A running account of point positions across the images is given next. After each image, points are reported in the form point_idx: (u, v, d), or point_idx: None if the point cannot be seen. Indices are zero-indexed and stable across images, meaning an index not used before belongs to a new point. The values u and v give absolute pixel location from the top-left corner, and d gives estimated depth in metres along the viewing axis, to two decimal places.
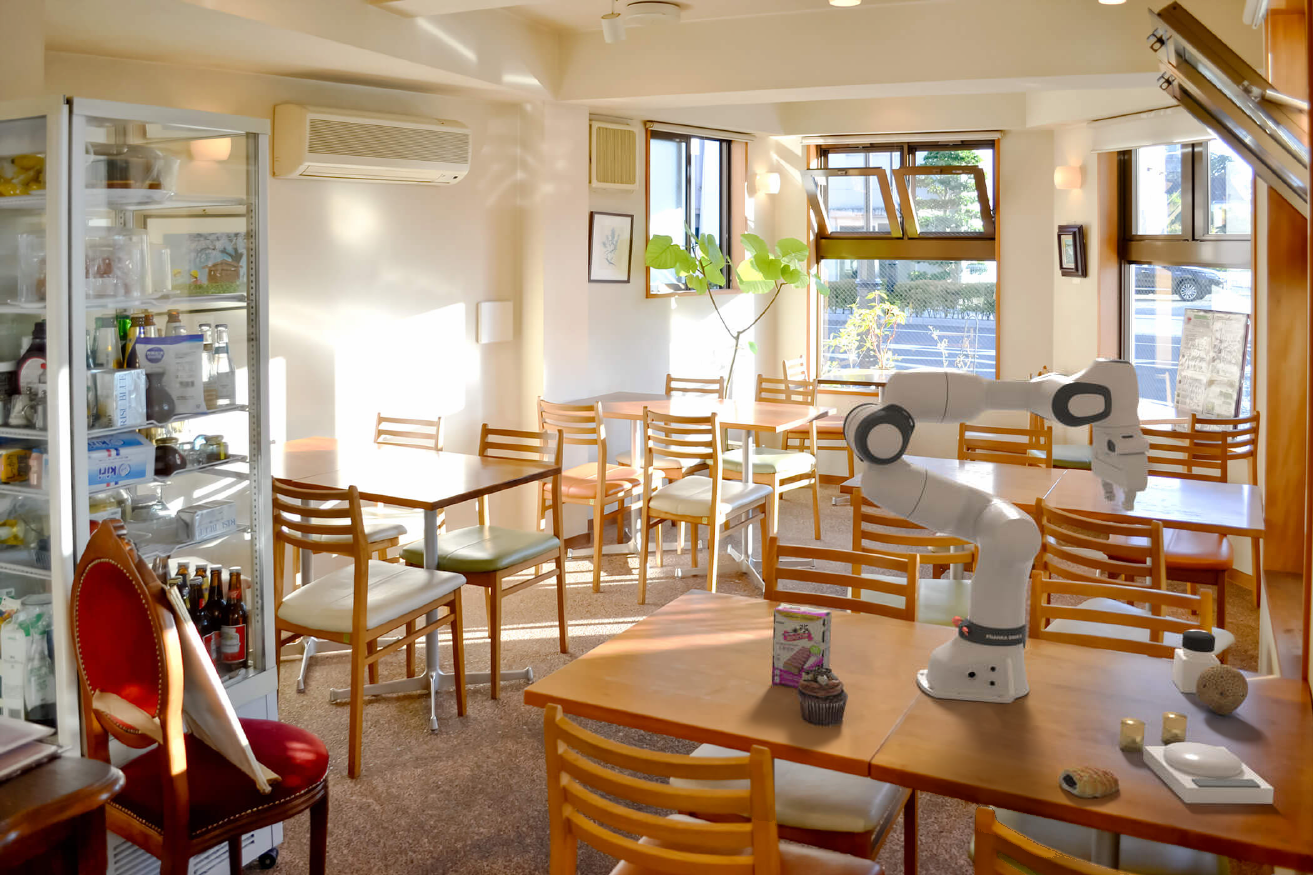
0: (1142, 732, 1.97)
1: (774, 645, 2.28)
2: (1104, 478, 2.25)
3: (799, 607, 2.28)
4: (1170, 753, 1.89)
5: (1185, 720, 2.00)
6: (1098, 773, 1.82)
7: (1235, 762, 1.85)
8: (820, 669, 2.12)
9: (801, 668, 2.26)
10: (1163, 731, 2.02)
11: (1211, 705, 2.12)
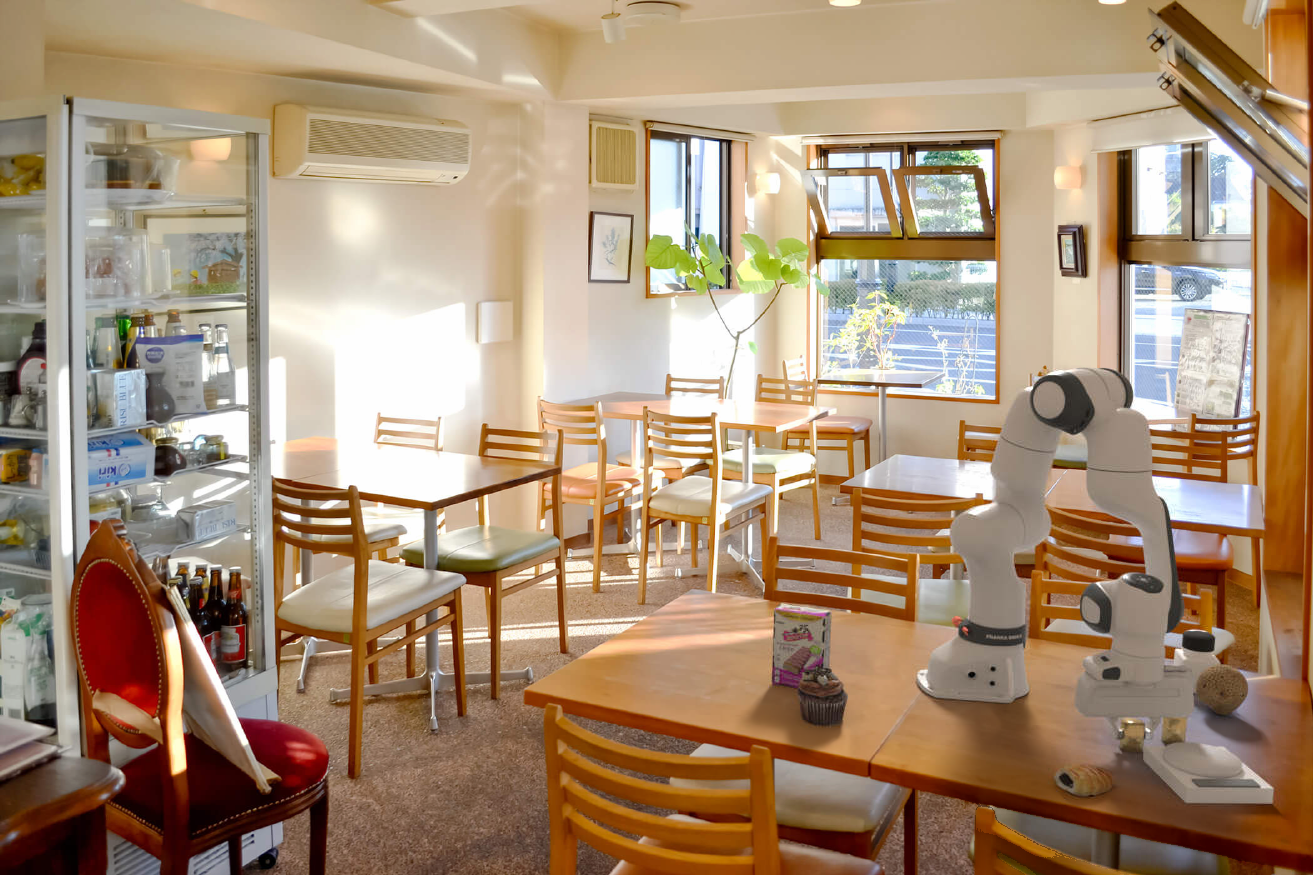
0: (1142, 732, 1.97)
1: (774, 645, 2.28)
2: None
3: (799, 607, 2.28)
4: (1170, 753, 1.89)
5: (1185, 720, 2.00)
6: (1094, 771, 1.83)
7: (1235, 762, 1.85)
8: (820, 669, 2.12)
9: (801, 668, 2.26)
10: (1163, 731, 2.02)
11: (1211, 705, 2.12)
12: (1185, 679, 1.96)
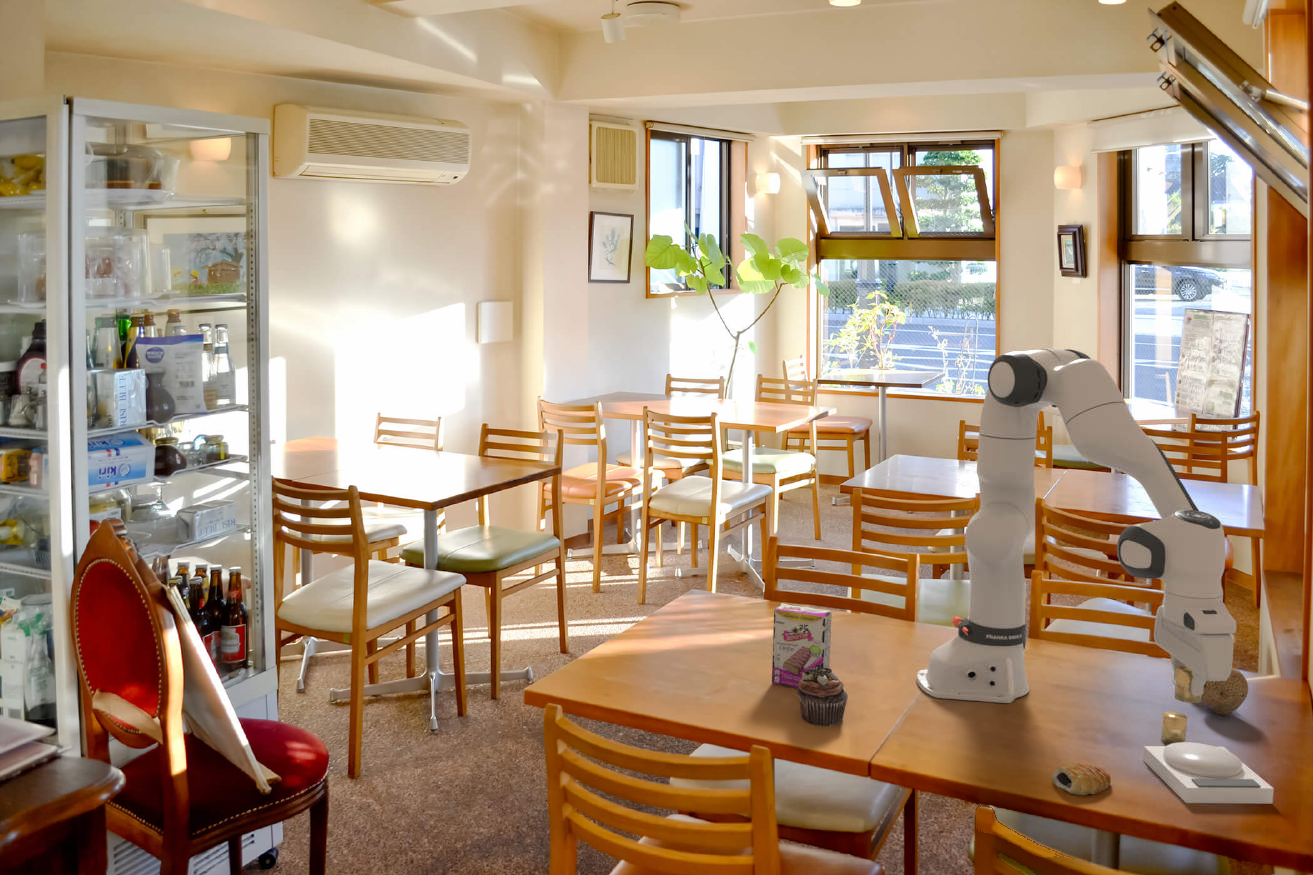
0: None
1: (774, 645, 2.28)
2: (1172, 653, 1.87)
3: (799, 607, 2.28)
4: (1170, 753, 1.89)
5: (1185, 720, 2.00)
6: (1091, 770, 1.83)
7: (1235, 762, 1.85)
8: (820, 669, 2.12)
9: (801, 668, 2.26)
10: (1163, 731, 2.02)
11: (1211, 705, 2.12)
12: None
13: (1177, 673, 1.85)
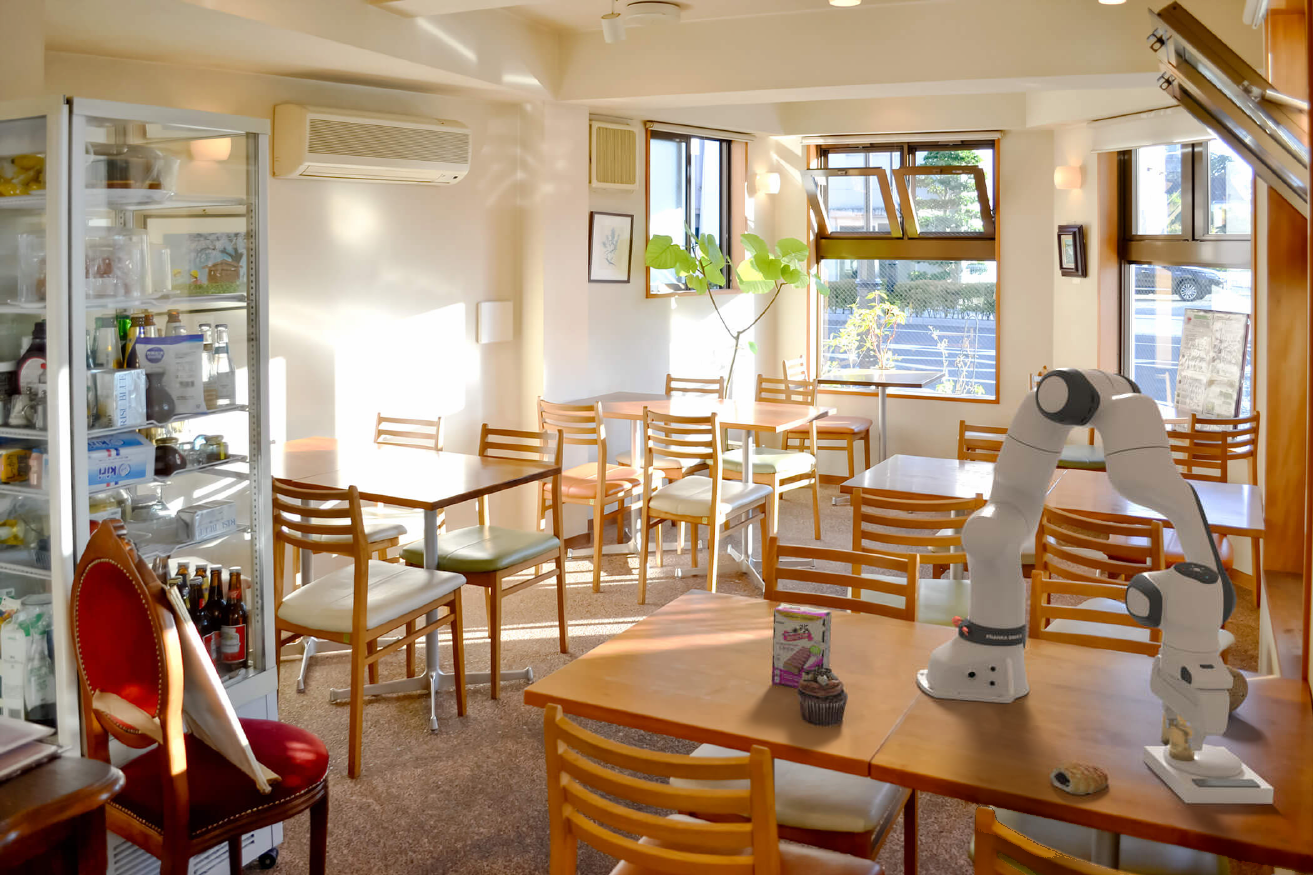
0: None
1: (774, 645, 2.28)
2: (1168, 703, 1.89)
3: (799, 607, 2.28)
4: None
5: None
6: (1089, 769, 1.84)
7: (1235, 762, 1.85)
8: (820, 669, 2.12)
9: (801, 668, 2.26)
10: (1163, 731, 2.02)
11: None
12: None
13: (1171, 731, 1.87)
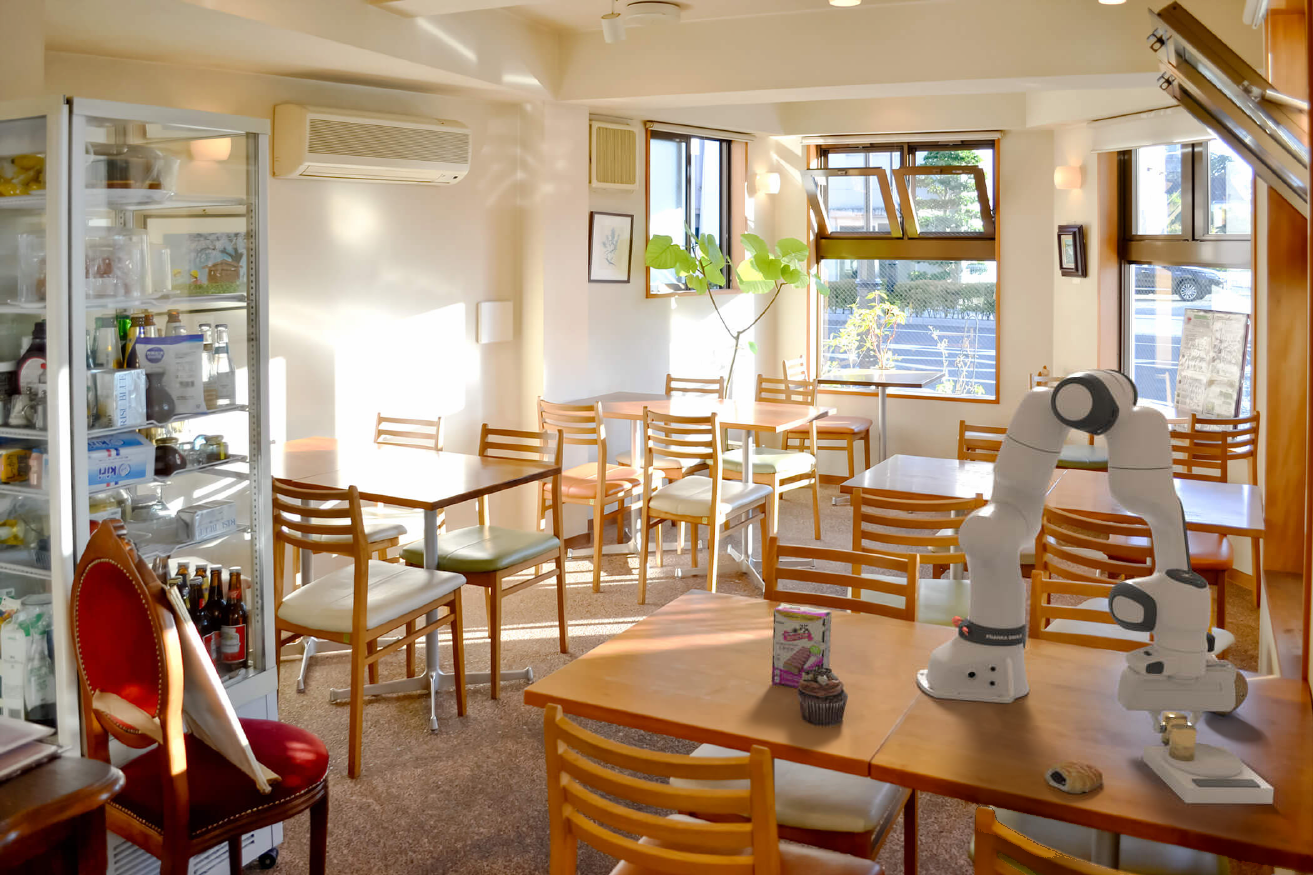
0: None
1: (774, 645, 2.28)
2: None
3: (799, 607, 2.28)
4: None
5: (1185, 720, 2.00)
6: (1084, 768, 1.84)
7: (1235, 762, 1.85)
8: (820, 669, 2.12)
9: (801, 668, 2.26)
10: None
11: None
12: (1227, 673, 1.99)
13: (1171, 731, 1.87)
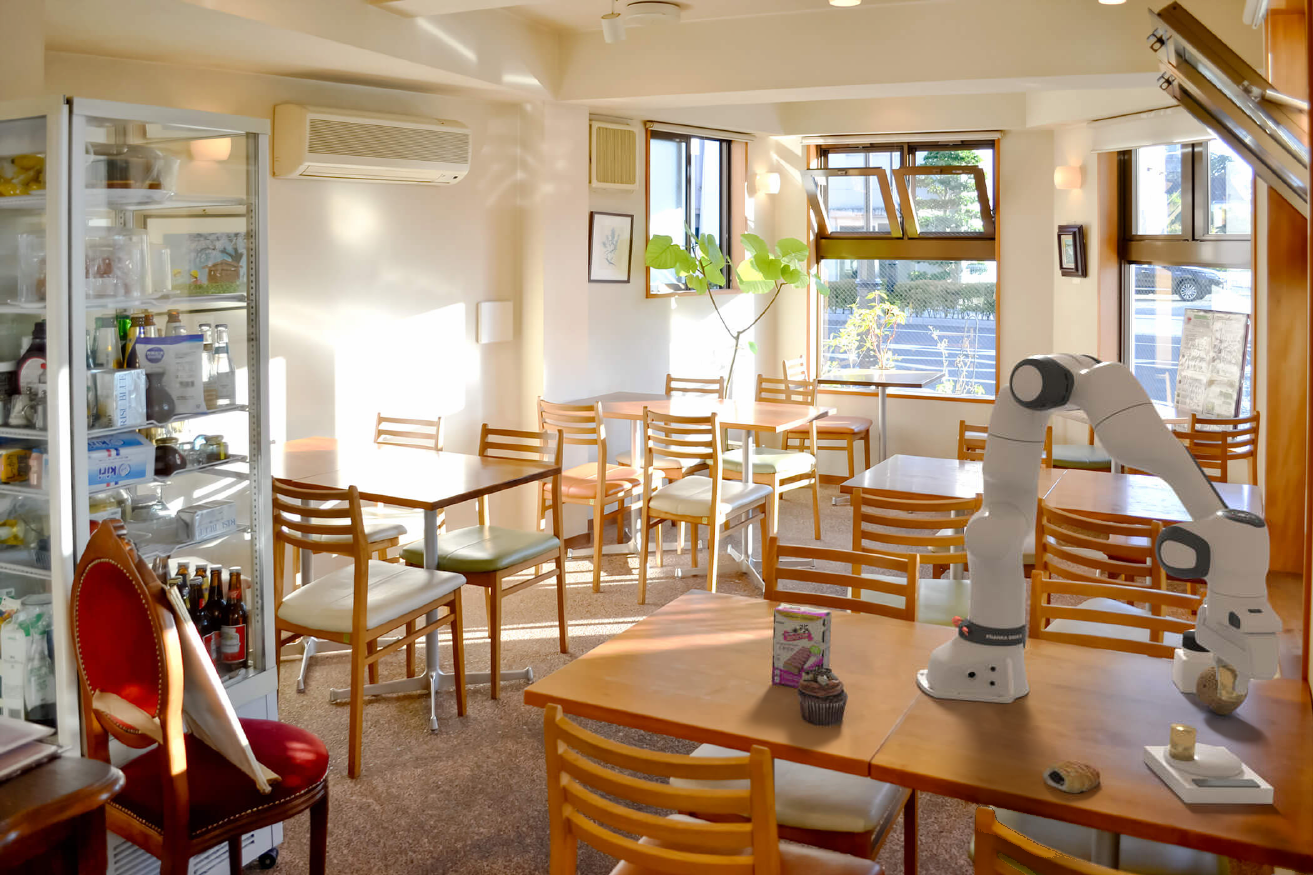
0: None
1: (774, 645, 2.28)
2: (1215, 652, 1.88)
3: (799, 607, 2.28)
4: None
5: None
6: (1082, 767, 1.84)
7: (1235, 762, 1.85)
8: (820, 669, 2.12)
9: (801, 668, 2.26)
10: None
11: (1211, 705, 2.12)
12: None
13: (1171, 731, 1.87)
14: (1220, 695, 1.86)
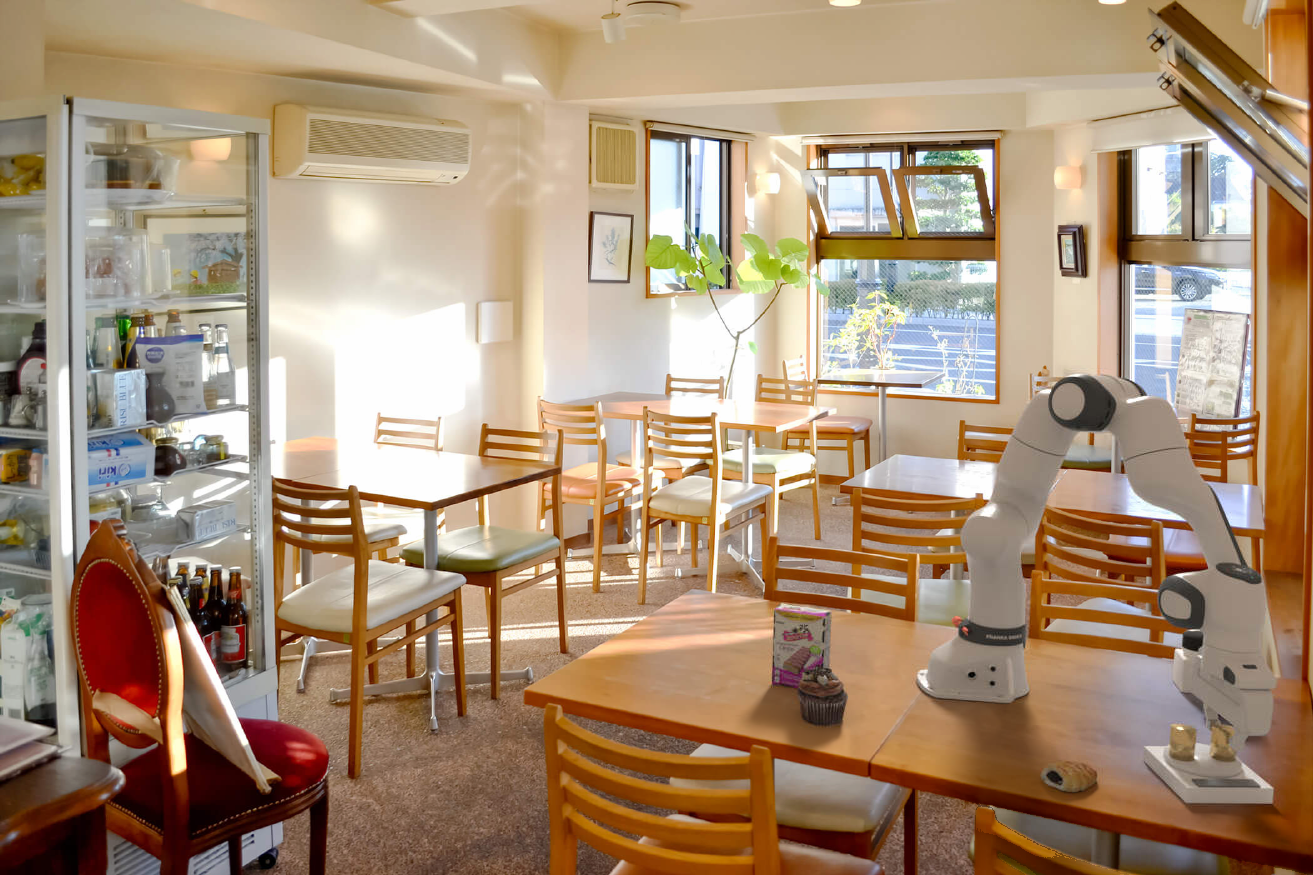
0: None
1: (774, 645, 2.28)
2: (1209, 703, 1.89)
3: (799, 607, 2.28)
4: None
5: None
6: (1079, 766, 1.85)
7: (1235, 762, 1.85)
8: (820, 669, 2.12)
9: (801, 668, 2.26)
10: (1230, 750, 1.85)
11: None
12: None
13: (1171, 731, 1.87)
14: (1212, 755, 1.87)
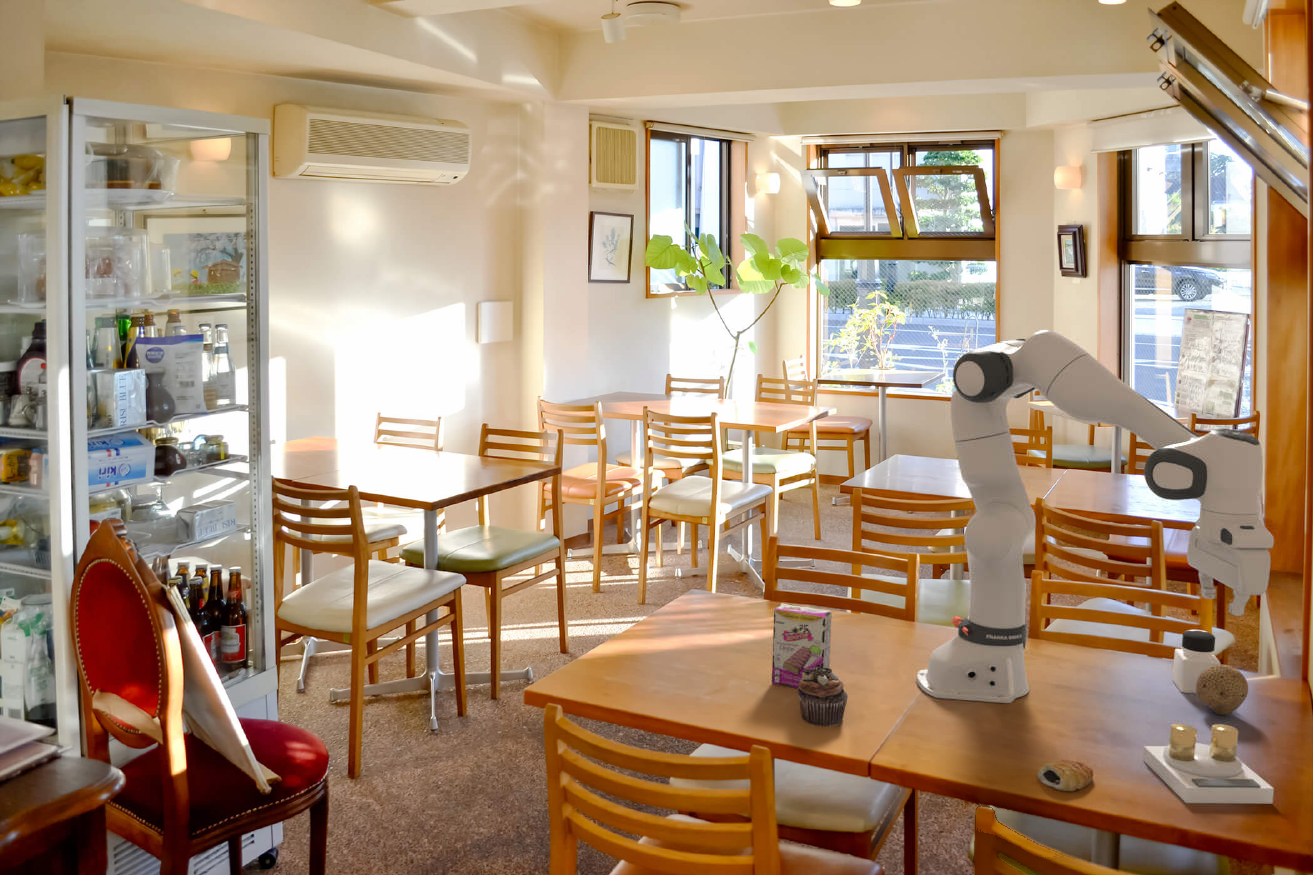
0: None
1: (774, 645, 2.28)
2: (1206, 572, 1.89)
3: (799, 607, 2.28)
4: None
5: None
6: (1076, 765, 1.85)
7: (1235, 762, 1.85)
8: (820, 669, 2.12)
9: (801, 668, 2.26)
10: (1230, 750, 1.85)
11: (1211, 705, 2.12)
12: None
13: (1171, 731, 1.87)
14: (1212, 755, 1.87)
